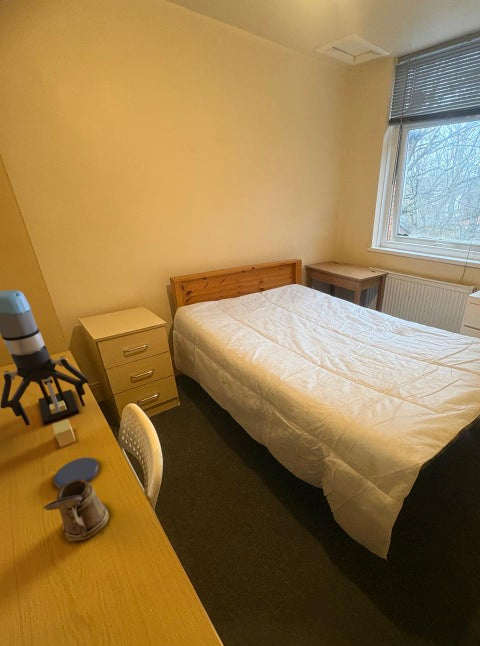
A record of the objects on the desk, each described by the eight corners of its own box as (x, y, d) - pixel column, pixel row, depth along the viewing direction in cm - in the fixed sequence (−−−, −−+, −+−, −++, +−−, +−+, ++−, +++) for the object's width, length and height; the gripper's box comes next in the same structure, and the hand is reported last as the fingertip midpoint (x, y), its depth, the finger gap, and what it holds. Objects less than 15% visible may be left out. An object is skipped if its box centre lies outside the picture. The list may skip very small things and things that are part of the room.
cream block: (67, 412, 108) (64, 405, 106) (53, 417, 106) (50, 409, 104) (66, 407, 110) (63, 400, 109) (52, 412, 108) (49, 404, 107)
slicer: (79, 413, 110) (66, 379, 104) (44, 425, 104) (28, 390, 98) (72, 392, 121) (60, 360, 115) (39, 402, 115) (25, 369, 109)
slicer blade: (71, 414, 105) (70, 411, 103) (49, 421, 102) (47, 418, 100) (57, 374, 110) (56, 370, 108) (36, 380, 107) (34, 376, 105)
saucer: (46, 489, 83) (44, 486, 82) (71, 460, 91) (69, 457, 91) (85, 490, 83) (83, 487, 82) (105, 460, 91) (104, 457, 91)
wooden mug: (59, 568, 66) (25, 511, 57) (67, 515, 76) (39, 460, 68) (108, 549, 69) (83, 492, 61) (109, 500, 80) (88, 446, 72)
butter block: (60, 447, 96) (54, 434, 94) (57, 436, 100) (52, 424, 98) (75, 441, 98) (70, 428, 96) (72, 431, 102) (67, 418, 100)
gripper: (80, 332, 94) (101, 392, 104) (-35, 358, 80) (1, 424, 90) (85, 341, 89) (106, 402, 99) (-38, 370, 75) (2, 439, 85)
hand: (56, 413), depth 94 cm, fingers open, 13 cm apart
